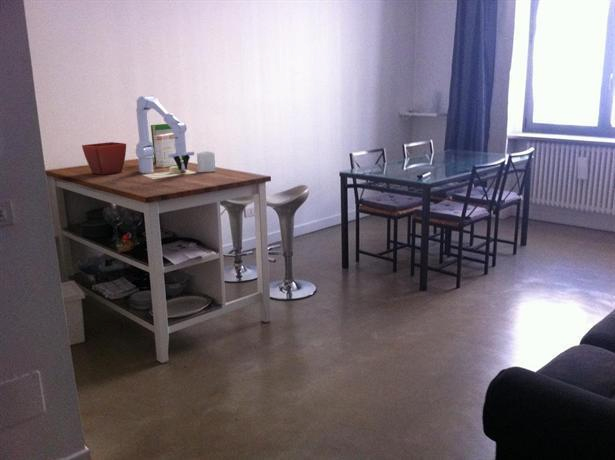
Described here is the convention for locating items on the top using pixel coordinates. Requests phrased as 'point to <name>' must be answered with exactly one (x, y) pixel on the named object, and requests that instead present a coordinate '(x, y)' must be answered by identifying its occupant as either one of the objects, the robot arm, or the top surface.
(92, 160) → the plant pot
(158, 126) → the green white carton
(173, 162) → the coffeecake box
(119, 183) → the top surface
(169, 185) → the top surface
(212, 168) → the white rounded block
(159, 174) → the subfloor board
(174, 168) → the cream rectangular block
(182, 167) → the silver metal cylinder
